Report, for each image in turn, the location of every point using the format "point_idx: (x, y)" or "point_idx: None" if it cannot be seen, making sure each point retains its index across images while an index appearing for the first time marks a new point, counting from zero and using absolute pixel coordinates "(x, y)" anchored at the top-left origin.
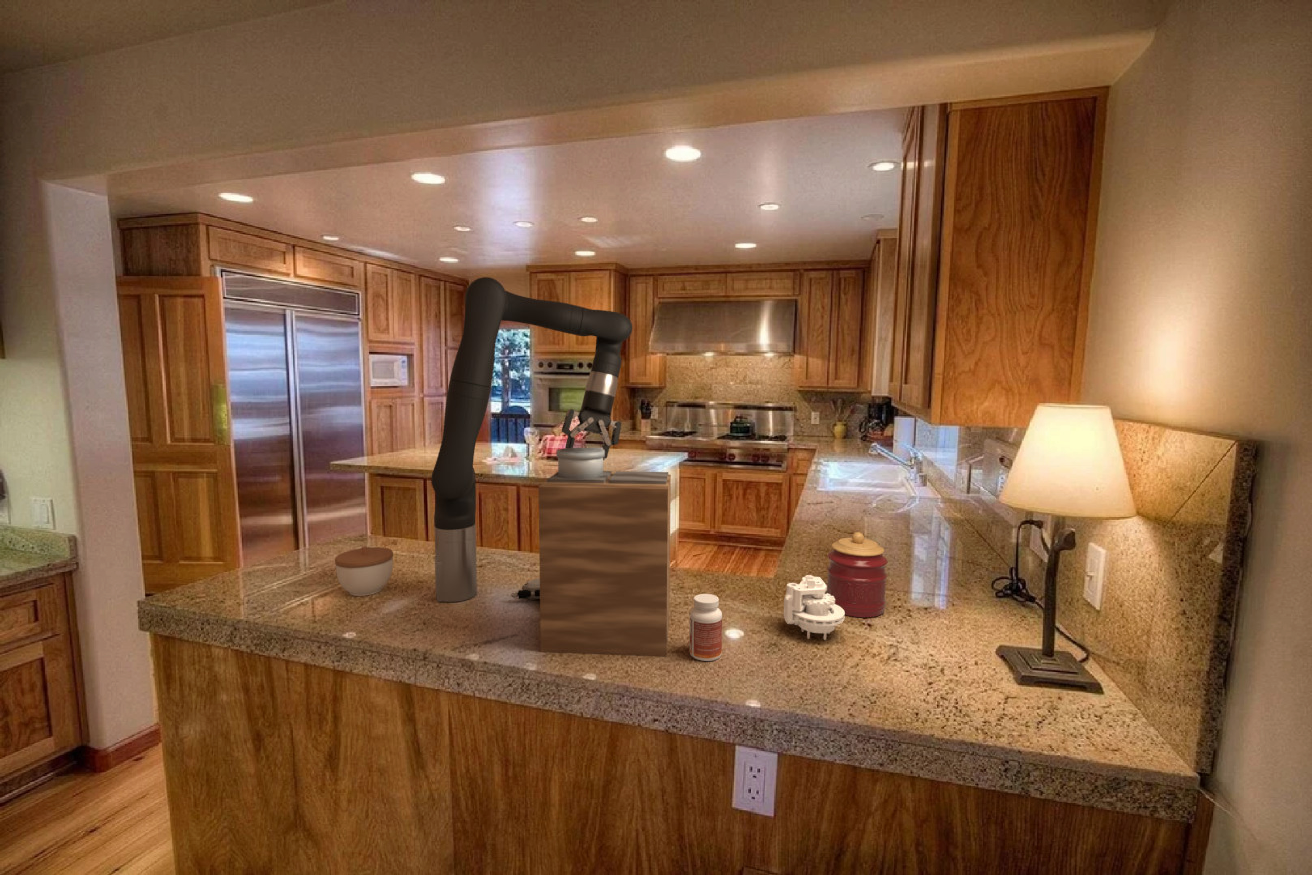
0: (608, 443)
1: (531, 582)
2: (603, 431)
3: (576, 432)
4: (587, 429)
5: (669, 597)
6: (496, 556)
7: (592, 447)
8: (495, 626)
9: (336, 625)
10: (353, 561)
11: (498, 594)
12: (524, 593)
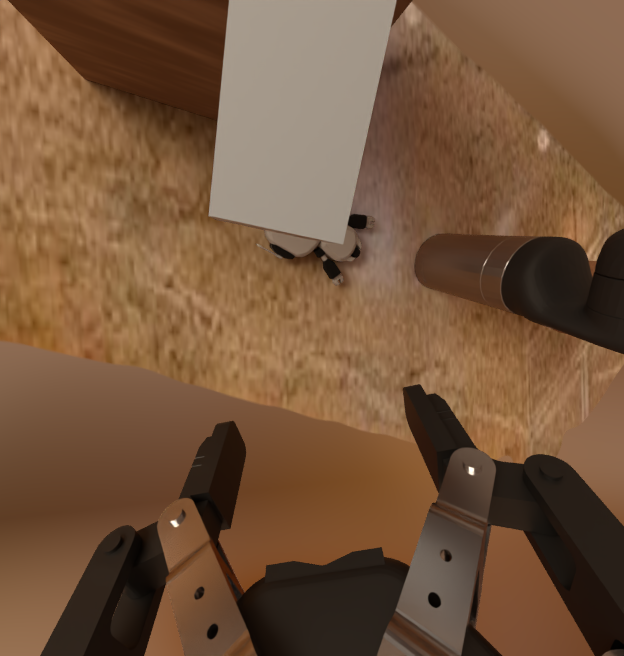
0: (179, 510)
1: (350, 241)
2: (213, 597)
3: (458, 492)
4: (379, 565)
5: (58, 51)
6: (393, 414)
7: (305, 229)
8: (387, 127)
9: (555, 175)
10: (595, 265)
11: (387, 259)
12: (357, 215)
